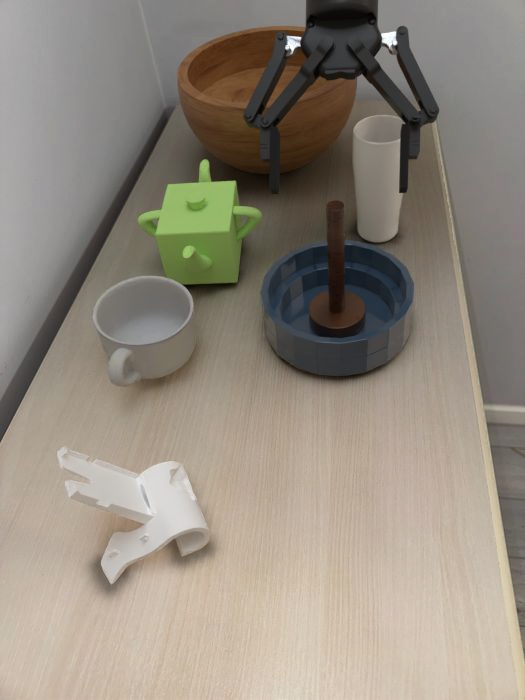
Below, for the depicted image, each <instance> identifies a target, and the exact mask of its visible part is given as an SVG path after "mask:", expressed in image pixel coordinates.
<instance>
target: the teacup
mask: <svg viewBox="0 0 525 700" xmlns="http://www.w3.org/2000/svg"><path fill="white" fill-rule="evenodd" d="M194 310H195V304H194V298H193V296H192V293H190V291H189V290H188V288H187V287H186V286H184V284H183V285H181V284H180V283H178V282H176V281H174V280H172V279H169V278H166V276H162V275H141V276H140V275H139V276H135V277H130V278H127V279H124V280H122V281H119V282H118V283H115V284H114V285H112V286H111V287H109V288H107V290H105V291H104V292H103V293H102V294H101V295H100V296H99V297H98V299H97V300H96V302H95V303H94V307H93V310H92V315H91V316H92V317H91V319H92V322H93V326H94V328H95V330H96V332H97V334H98V338H99V341H100V343H101V346H102V350H103V351H104V353H105V356H106V358H107V360H108V361H109V362H108V369H107V370H108V371H107V374H108V379H109V381H110V383H111V384H112V385H114V386H116V387H119V388H120V387H121V388H127V387H130V386H131V385H133V384H134V383H137V382H138V383H139V382H140V381H141V380H142V379H143V380H148V379H150V380H151V379H158V378H161V377H165V376H168V375H171V374H172V373H174V372H176V371H178V370H179V369H180V368H181V367H183V366H184V365H185V364H186V363H187V362H188V360H189V359H190V357H191V356H192V354H193V352H194V349H195V347H196V341H197V330H196V329H197V328H196V319H195V318H196V317H195V311H194Z"/></svg>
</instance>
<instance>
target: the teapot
mask: <svg viewBox="0 0 525 700" xmlns="http://www.w3.org/2000/svg"><path fill="white" fill-rule="evenodd" d="M262 215H263V214H262V212H261V210H260V209H258V208H256V207H252V206H247V205H245V206H244V205H243V206H242V205H240V199H239V192H238V186H237V181H236V180H225V181H224V180H221V181H212V178H211V173H210V161H209V160H208V159H206V158H205V159H202V160H201V161H200V163H199V168H198V182H186V183H168V184H167V185H166V190H165V193H164V197H163V202H162V205H161V209H155V210H151V211H147V212H144V213H142V214H141V215H139V217H138V218H137V224H138V226H139V227H140V228H141V230H143V231H144V232H145V233H146V234H148V235H150V236H151V237H153V238H155V239H156V244H157V247H158V251H159V256H160V259H161V263H162V267H163V270H164V276H165V277H166V278H169V279H172V280H174V281H176V282H178V283H180V284H181V285H183V286H184V285H200V284H201V285H204V284H205V285H206V284H207V285H208V284H230V283H231V284H234V283H238V280H239V272H240V262H241V253H242V244H243V239H244V238H245V237H246V236H247V235H249V234H250V233H251V232H253V231H254V230H255V229H256V228H257V227H258V225H259V224H260V223H261V221H262V218H263V216H262ZM242 217H247V219H246V222H245V223H244V225H243V222H242ZM156 220H158V221H157V225H156V224H155V223H154V222H153V221H156Z"/></svg>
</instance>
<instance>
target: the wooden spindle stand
mask: <svg viewBox="0 0 525 700" xmlns="http://www.w3.org/2000/svg"><path fill="white" fill-rule="evenodd" d="M345 209H346V208H345V203H344V202H343V201H341V200H337V199H334V200H330V201H328V202H327V203H326V205H325V212H326V213H325V215H326V241H327V256H328V291H324V292H322V293H320V294H318V295H317V296H315V297H314V298H313V300H312V301H311V303H310V305H309V323H310V326H311V328H312V330H313V331H314V332H315V333H316V334H317V335H319V336H320V337H332V338H344V337H350V336H355V335H357V334H358V333H359V332H360V331H361V330H362V328H363V327H364V324H365V304H364V302H363V300H362V299H361V298H360V297H359V296H358V295H357V294H355V293H353V292H351V291H348V290H345V241H346V238H345V237H346V236H345V235H346V229H345V228H346V225H345V224H346V223H345V221H346V220H345V217H346V215H345V214H346V213H345Z"/></svg>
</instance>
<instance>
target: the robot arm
mask: <svg viewBox="0 0 525 700" xmlns="http://www.w3.org/2000/svg"><path fill="white" fill-rule="evenodd" d="M304 27H305V31H304V34H303V36H302V37H295V36H287V35H286V33H285V32H283V31H279V32H278V33H277V34H276V36H275V43H274V51H273V54H272V56H271V58H270V60H269V62H268V64H267V66H266V69H265V71H264V73H263V75H262V77H261V79H260V81H259V83H258V85H257V87H256V89H255V91H254V93H253V95H252V97H251V99H250V101H249V103H248V105H247V107H246V109H245V111H244V113H243V118H244V120H245V122H246V123H247V125H248V126H249V127H251V128H253V127H254V128H256V129H259V130H260V156H261V159H262V160H263V162H270V170H269V174H268V176H269V177H268V179H269V180H268V184H269V185H268V190H269V192H270V193H271V195H280V182H281V181H280V180H281V179H280V178H281V177H280V175H281V173H280V132H279V130H278V128H277V127H276V126H277V125H278V124H279V123H280V122H281V120H282V119H283V118H284V117H285V115H286V114H287V113H288V112H289V111H290V109H291V108H292V107H293V106H294V105H295V103H296V102H297V101H298V100H299V99H300V97H301V96H302V95H303V94H304V93H305V91H306V90H307V89H308V88H309V87H310V86H312V85H313V84H314V82H315V81H316V80H317V79H318V78H319V76H321V77H322V78H325V79H326V81H328V80H336V79H339V78H343V79H347V80H355V78H356V77H357V78H358V77H359V76H360V77H361V75H362V76H363V77H364V79H365V80H366V82H368V83H369V84H371V85H372V86H373V88H375V90H376V91H377V92H378V93H379V94H380V96H381V97H382V98H383V100H384V101H386V103H387V104H388V106H390V108H391V109H392V110H393V111H394V112H395V113H396V114H397V117H399V118H401V119H402V120H403V122H404V123H405V124H402V127H401V132H400V172H399V193H403V194H407V192H408V189H409V163H410V162H409V161H411V160H417V159H418V158H419V155H420V152H421V128H422V127H423V126H425V125H428V124H433V123H435V122H436V121H437V119H438V116H439V113H440V107H439V105H438V103H437V101H436V99H435V97H434V95H433V92H432V91H431V88H430V87H429V85H428V83H427V80H426V78H425V75H424V74H423V72H422V70H421V68H420V65H419V63H418V61H417V60H416V58H415V56H414V54H413V53H414V52H413V51H412V49H411V47H410V36H409V29H408V27H407V26H405V25H400V26H398V27H397V28H396V30H395V31H389V32H381V31H380V29H379V0H305V26H304ZM382 47H383V48H384V47H385V48H386V49H387V51H388V53H389V54H390V55H391V56H396V61H397V65H398V66H399V68H400V70H401V73H402V74H403V76H404V79H405V81H406V83H407V85H408V87H409V89H410V91H411V93H412V95H413V97H414V99H415V101H416V104H417V106H418V108H419V110H418V109H417V108H416V107H415V106H414V104H413V103H412V102H411V101H410V100H409V98H407V96H406V95H405V94H404V92H402V90H401V89H400V88H399V87H398V86H397V85H396V84H395V82H394V81H393V80H392V79H391V78H390V76H389V75H388V74H387V73H386V72H385V71H384V69H383V68H382V66H381V64H380V63H379V62H378V60H377V59H376V58H375V57H376V56H377V55H378V53H379V52H380V51H381V48H382ZM298 50H302V52H303V54H304V55H305V57H306V58H307V60H306V61H305V63H304V64H303V65H302V66H301V68H300V71H299V72H298V73H297V75H296V76H295V77H294V78H293V79H292V81H291V82H290V83H289V84H288V86H287V87H286V88H285V89H284V90H283V92H282V93H281V94H280V95H279V96H278V98H277V99H276V100H275V101H274V103H273V104H272V105H271V106H270V107H269V109H268V110H267V111H266V112H265V114H264V115H262V113H263V111H264V109H265V107H266V105H267V103H268V101H269V99H270V97H271V95H272V93H273V91H274V89H275V87H276V85H277V83H278V81H279V79H280V77H281V75H282V73H283V71H284V69H285V66H286V63H287V59H291V58H293V56H294V54H295V52H296V51H298Z"/></svg>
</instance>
